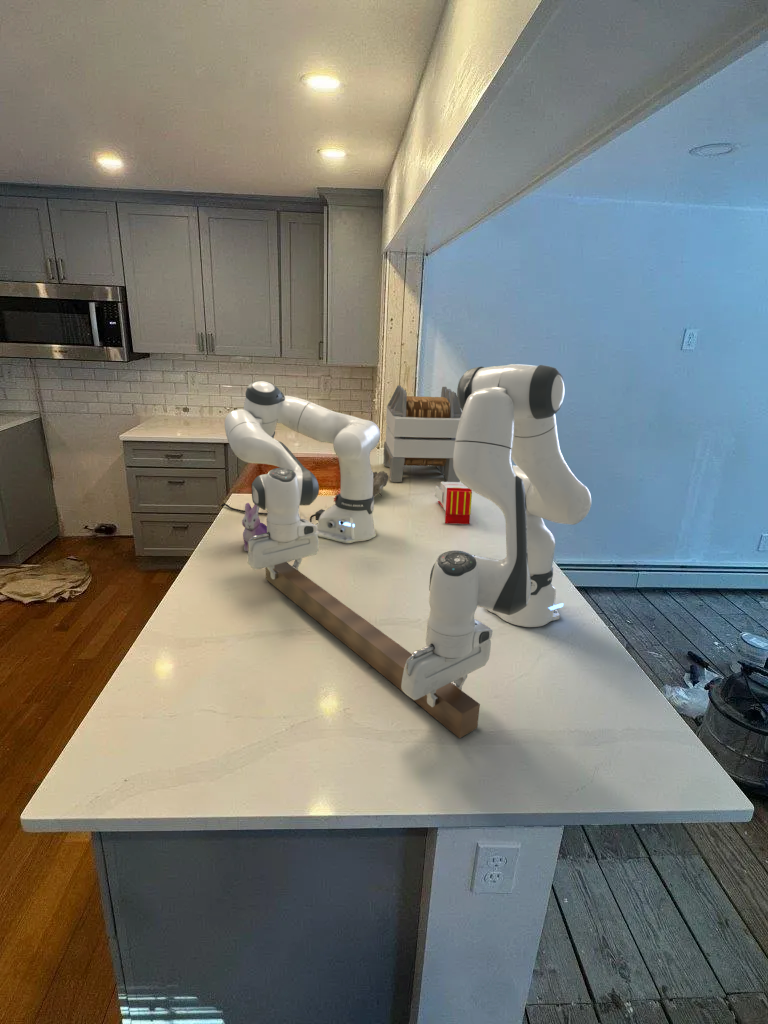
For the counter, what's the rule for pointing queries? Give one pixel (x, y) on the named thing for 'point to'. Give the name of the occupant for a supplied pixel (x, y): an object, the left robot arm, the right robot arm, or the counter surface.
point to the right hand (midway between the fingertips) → (444, 698)
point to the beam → (373, 646)
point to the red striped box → (455, 502)
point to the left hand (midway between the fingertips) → (284, 575)
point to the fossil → (379, 482)
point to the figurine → (252, 524)
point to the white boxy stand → (421, 432)
